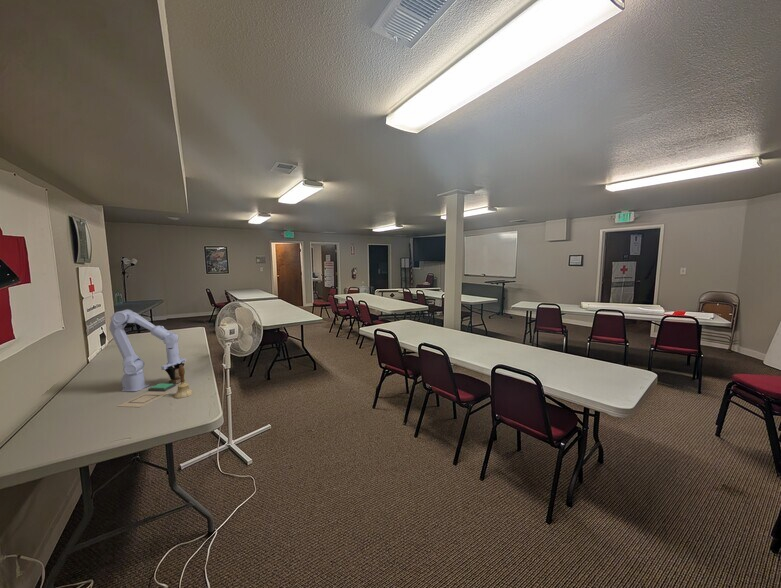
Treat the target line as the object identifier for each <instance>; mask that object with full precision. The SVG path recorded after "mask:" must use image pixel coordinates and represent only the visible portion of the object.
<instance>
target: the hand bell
mask: <svg viewBox="0 0 781 588" xmlns="http://www.w3.org/2000/svg"><path fill="white" fill-rule="evenodd" d="M178 372H179V375H180V379H181V382H180V383H179V384H177V391H176V394H174V396H173V397H174V399H184V398H187V397H190V396H192V395H193V394H194V391H193V390H191V388H190V386H189V383H187V382H186V379H185V372H186V371H185V366H183V365H179V370H178Z"/></svg>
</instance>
